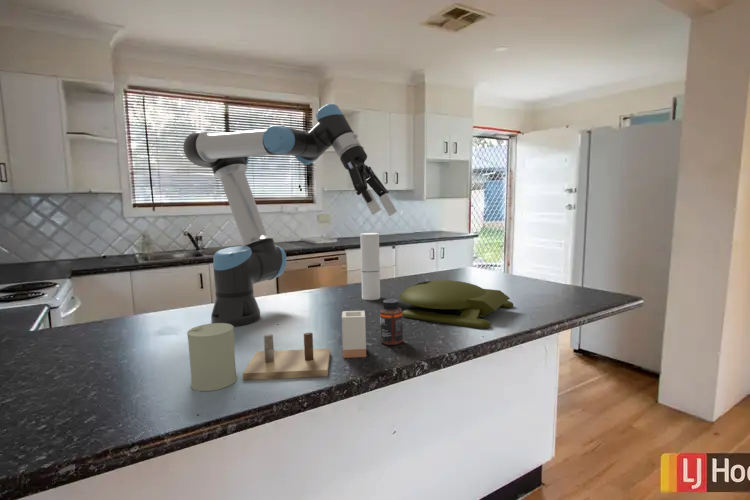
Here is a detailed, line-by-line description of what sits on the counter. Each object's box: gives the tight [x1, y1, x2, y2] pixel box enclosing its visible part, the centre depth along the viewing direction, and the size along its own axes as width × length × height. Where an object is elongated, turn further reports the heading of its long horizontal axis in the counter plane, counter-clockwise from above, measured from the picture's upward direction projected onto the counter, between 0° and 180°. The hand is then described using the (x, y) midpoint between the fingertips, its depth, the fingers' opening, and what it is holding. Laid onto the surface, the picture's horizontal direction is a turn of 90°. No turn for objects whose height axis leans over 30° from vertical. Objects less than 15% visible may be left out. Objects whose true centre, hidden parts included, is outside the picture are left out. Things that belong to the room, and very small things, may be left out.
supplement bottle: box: [379, 298, 404, 346], centre depth 110 cm, size 6×6×11 cm
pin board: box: [242, 332, 331, 381], centre depth 95 cm, size 18×13×8 cm
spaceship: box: [399, 279, 514, 330], centre depth 140 cm, size 35×31×10 cm
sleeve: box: [341, 310, 367, 359], centre depth 102 cm, size 6×6×10 cm
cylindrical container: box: [359, 232, 381, 301], centre depth 159 cm, size 7×7×25 cm
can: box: [186, 322, 238, 392], centre depth 87 cm, size 9×9×12 cm
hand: (385, 213), depth 119 cm, fingers open, 13 cm apart
